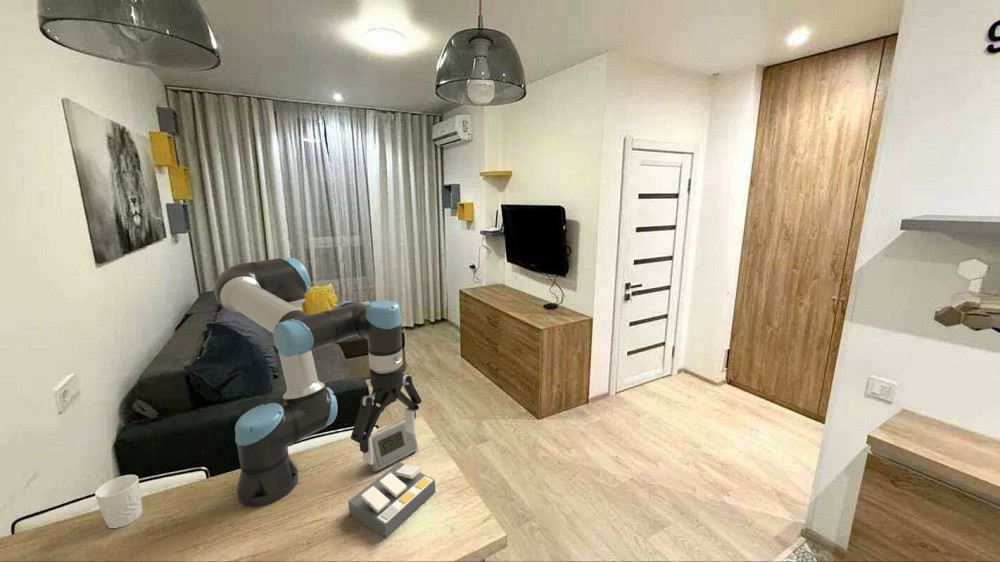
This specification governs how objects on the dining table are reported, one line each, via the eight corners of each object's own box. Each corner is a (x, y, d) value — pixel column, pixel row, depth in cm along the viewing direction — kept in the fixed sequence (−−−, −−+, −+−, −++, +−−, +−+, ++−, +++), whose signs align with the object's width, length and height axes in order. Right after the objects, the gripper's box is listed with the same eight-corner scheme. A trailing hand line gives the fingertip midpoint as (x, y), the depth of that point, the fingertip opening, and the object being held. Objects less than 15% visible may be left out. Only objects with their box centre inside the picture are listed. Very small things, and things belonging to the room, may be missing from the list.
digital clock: (371, 475, 116) (369, 444, 114) (364, 458, 124) (361, 429, 121) (422, 456, 125) (421, 426, 123) (412, 441, 132) (411, 413, 130)
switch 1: (360, 499, 100) (361, 494, 99) (372, 490, 103) (373, 485, 102) (377, 514, 97) (378, 510, 96) (389, 504, 100) (389, 500, 100)
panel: (349, 514, 102) (348, 499, 101) (400, 473, 117) (399, 460, 116) (386, 538, 95) (385, 522, 94) (435, 492, 110) (434, 478, 109)
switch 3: (396, 477, 110) (395, 471, 110) (406, 469, 113) (405, 464, 113) (412, 480, 106) (411, 475, 106) (422, 472, 110) (420, 467, 109)
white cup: (144, 502, 106) (137, 470, 104) (146, 518, 100) (138, 485, 98) (104, 518, 101) (95, 485, 98) (103, 537, 95) (94, 502, 93)
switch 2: (379, 485, 105) (379, 480, 104) (389, 476, 108) (390, 472, 107) (395, 499, 102) (396, 494, 101) (406, 490, 105) (406, 485, 105)
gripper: (352, 393, 78) (359, 483, 83) (433, 352, 99) (435, 425, 104) (329, 384, 82) (336, 470, 87) (412, 345, 103) (414, 417, 108)
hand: (390, 446), depth 95 cm, fingers open, 13 cm apart
